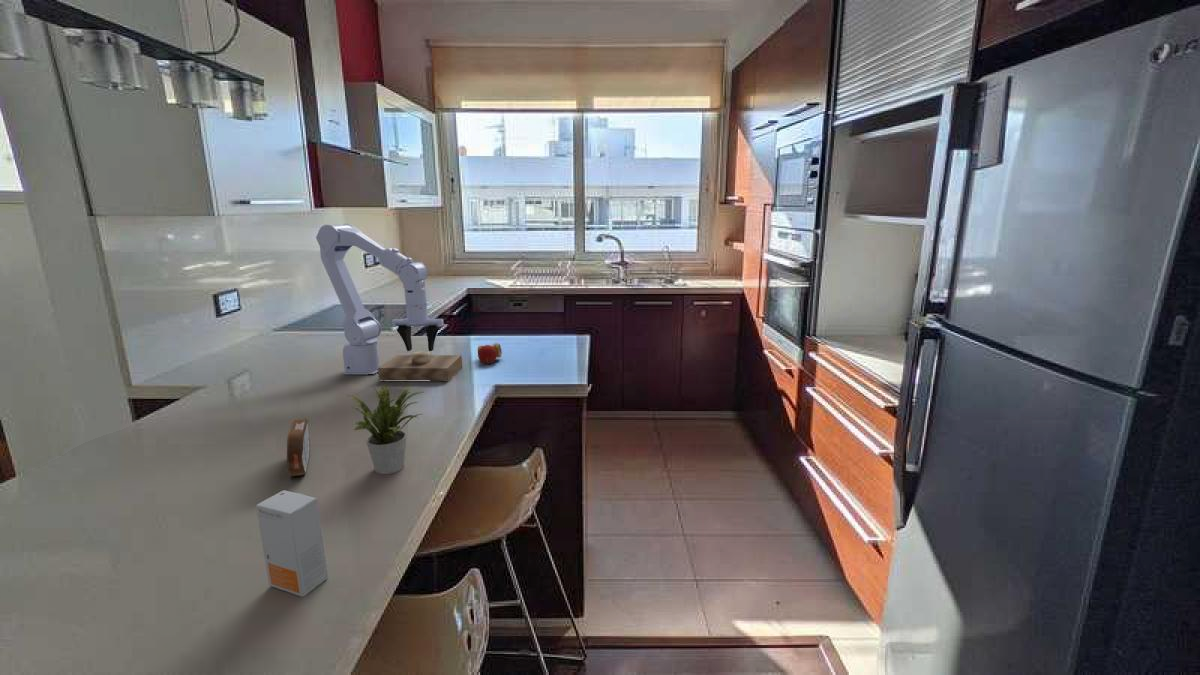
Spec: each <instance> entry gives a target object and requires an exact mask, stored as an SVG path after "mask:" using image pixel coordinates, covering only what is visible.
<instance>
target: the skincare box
mask: <svg viewBox="0 0 1200 675" xmlns="http://www.w3.org/2000/svg"><path fill="white" fill-rule="evenodd" d="M255 508H256V514H257V521H258V526H259V532H260V537H261V542H262V549H263V555H264V561H265V567H266V573H267V578H268V585H269V587H271V588H275V589H278V590H282V591H284V592H287V593H290V594H293V595H296V596H299V597H301V598H303V597H306V596H307V595H308V594H309V593H310V592H312V591H313V590H314V589H315V588H317V587H318V586H320V585H321V584H323V583H324V581H326V580H327V579H329V578H328V577H329V574H328V567H327V560H326V555H325V546H324V539H323V532H322V525H321V517H320V510H319V504H318V498H317V497H312V496H308V495H305V494H303V493H299V492H293V491H288V490H285V489H284V490H282V491H279V492H277V493H275V494H274V495H272V496H270V497H268V498H266V499H264V500H263V501H261V502H259V503H258V504H256V506H255Z"/></svg>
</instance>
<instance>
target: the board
mask: <svg viewBox="0 0 1200 675" xmlns="http://www.w3.org/2000/svg"><path fill="white" fill-rule="evenodd" d="M461 368H462V369H463V357H462V355H459V354H458V355H456V354H455V355H449V354H447V355H444V354H442V355H441V354H440V355H438V354H430V362H428V363H424V364H413V363H412V358H411V354H396V356H394V357H392V358H391V359H390V360H388V361H386V362H385V363H384V364H382V365H380V367H379V368H378V373H377V374H378V381H379V380H430V381H449V380H450V379H451V378H452V377H453V376H454V375H455V374H456V373H457V372H458V371H459V370H460V369H461ZM462 369H461V370H462ZM461 370H460V371H461ZM460 371H459V372H460ZM459 372H458V373H459ZM458 373H457V374H458ZM457 374H456V375H457ZM456 375H455V376H456ZM455 376H454V377H455ZM454 377H453V378H454ZM453 378H452V379H453ZM452 379H451V380H452ZM451 380H450V381H451ZM450 381H449V382H450Z"/></svg>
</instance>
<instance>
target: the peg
mask: <svg viewBox="0 0 1200 675" xmlns="http://www.w3.org/2000/svg"><path fill="white" fill-rule="evenodd" d="M430 352H431V351H429V350H420V351H419V350H418V351H415V352H412V353H411V354H410V355H411V358H412V363H413V364H424V363H428V362H430V355H431V354H430Z"/></svg>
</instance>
